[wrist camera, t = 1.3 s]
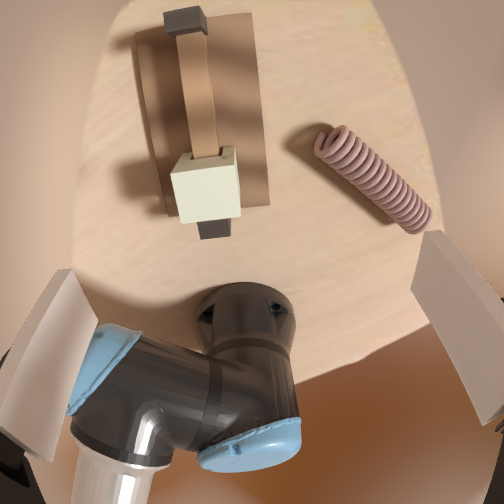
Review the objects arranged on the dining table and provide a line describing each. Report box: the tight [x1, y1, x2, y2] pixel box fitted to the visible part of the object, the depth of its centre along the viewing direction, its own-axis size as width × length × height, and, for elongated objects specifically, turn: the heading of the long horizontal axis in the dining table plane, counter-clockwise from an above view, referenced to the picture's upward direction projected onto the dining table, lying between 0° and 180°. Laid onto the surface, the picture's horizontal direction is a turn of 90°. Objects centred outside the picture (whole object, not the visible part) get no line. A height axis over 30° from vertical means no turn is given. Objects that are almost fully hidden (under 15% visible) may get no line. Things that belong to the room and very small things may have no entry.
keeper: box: [170, 146, 241, 224], centre depth 30 cm, size 5×6×7 cm
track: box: [135, 6, 270, 240], centre depth 27 cm, size 22×12×7 cm, turn 6°
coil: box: [314, 125, 432, 234], centre depth 33 cm, size 5×5×18 cm
